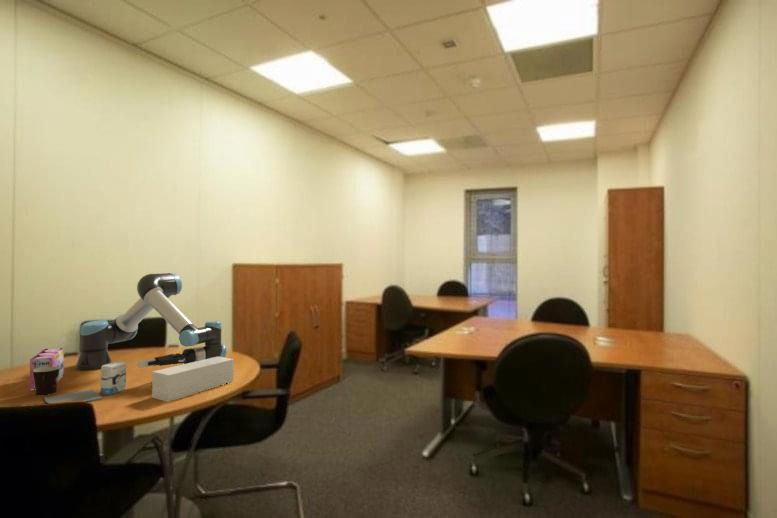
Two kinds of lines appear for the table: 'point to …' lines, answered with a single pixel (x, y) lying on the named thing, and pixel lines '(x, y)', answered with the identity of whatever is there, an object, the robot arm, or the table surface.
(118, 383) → the ink box
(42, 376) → the coffee mug
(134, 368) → the table surface
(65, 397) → the felt pad
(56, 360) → the gum box
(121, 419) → the table surface
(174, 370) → the long white block
